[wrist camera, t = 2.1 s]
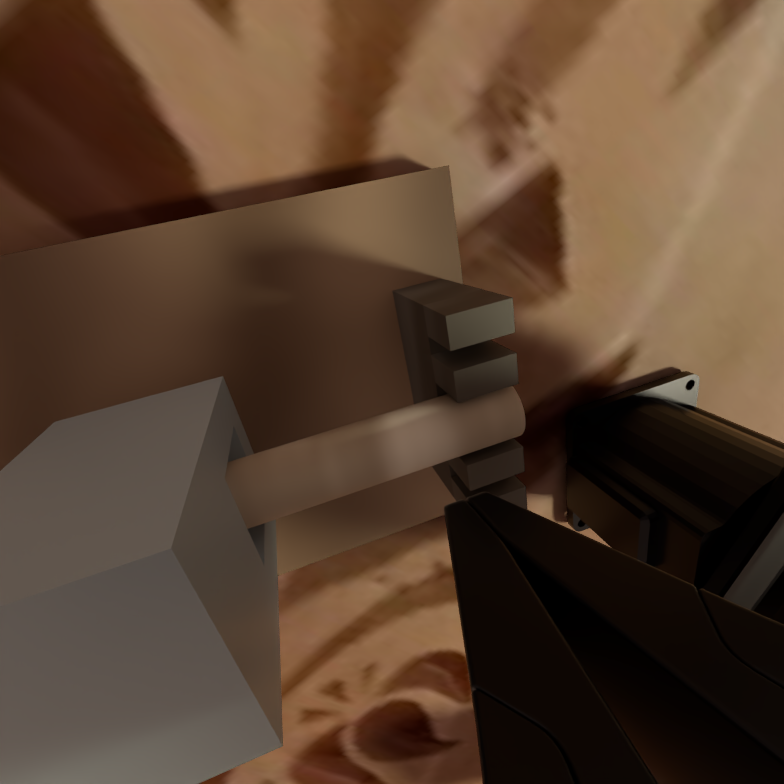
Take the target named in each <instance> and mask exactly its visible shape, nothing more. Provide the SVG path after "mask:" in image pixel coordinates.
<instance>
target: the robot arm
mask: <svg viewBox="0 0 784 784" xmlns="http://www.w3.org/2000/svg"><path fill="white" fill-rule="evenodd" d="M698 389H699V377H698V375H696V374H693V373H690V372H687V371H686V372H681V373H678V374H675V375H672V376H669V377H666V378H663V379H660V380H657V381H654V382H651V383H648V384H645V385H642V386H640V387H637V388H634V389H631V390H628V391H625V392H622V393H619V394H616V395H613V396H610V397H607V398H604V399H601V400H598V401H595V402H592V403H589V404H586V405H583V406H580V407H577V408H575V409H573V410H572V411H571V412H570V413H569V414H568V416H567V419H566V452H567V463H566V480H567V512H568V524H569V525H570V526H571V527H572V528H573V529H575V530H576V531H583V530H585V529H588V528H591V529H592V530H593V531H594V532H595V533H596V534H597V535H598V536H600V537H601V538H602V539H603V540H604V541H605V542H606V543H607V544H608V545H609V546H610V547H608V546H606V545H604V544H602V543H600V542H597V541H595V540H593V539H591V538H589V537H586V536H584V535H582V534H580V533H577V532H575V531H573V530H571V529H569V528H566V527H564V526H562V525H560V524H558V523H555V522H553V521H551V520H549V519H546V518H544V517H542V516H540V515H538V514H535V513H533V512H531V511H529V510H527V509H524V508H522V507H520V506H518V505H516V504H513V503H511V502H509V501H507V500H504V499H502V498H500V497H498V496H496V495H493V494H491V493H489V492H481V493H478V494H475V495H472V496H470V497H467V498H466V500H458V501H456V502H453V503H450V504H447V505H445V506H444V514H445V521H446V527H447V534H448V540H449V547H450V554H451V560H452V567H453V574H454V580H455V587H456V594H457V600H458V607H459V613H460V620H461V627H462V633H463V640H464V647H465V653H466V660H467V666H468V673H469V680H470V686H471V692H472V702H473V708H474V715H475V722H476V729H477V737H478V746H479V754H480V762H481V771H482V779H483V784H784V443H782V442H780V441H777V440H775V439H772V438H770V437H768V436H765V435H763V434H760V433H758V432H755V431H753V430H750V429H748V428H746V427H743V426H741V425H738V424H736V423H733V422H731V421H729V420H726V419H724V418H721V417H719V416H716V415H714V414H712V413H709V412H707V411H704V410H702V409H699V408H697V407H696V404H697V396H698ZM580 418H581V420H580V421H579V419H580ZM578 421H579V422H578ZM611 547H612V548H611Z"/></svg>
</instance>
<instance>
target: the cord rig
mask: <svg viewBox="0 0 784 784" xmlns="http://www.w3.org/2000/svg"><path fill="white" fill-rule="evenodd" d="M512 333H515V324H514V310H513V298H512V297H508V296H504V295H501V294H497V293H493V292H490V291H486V290H482V289H479V288H475V287H471V286H468V285H464V284H463V280H462V272H461V263H460V255H459V246H458V238H457V230H456V221H455V213H454V204H453V196H452V187H451V179H450V171H449V165H448V166H443V167H439V168H434V169H429V170H424V171H419V172H414V173H409V174H404V175H399V176H394V177H389V178H384V179H379V180H374V181H369V182H364V183H359V184H354V185H349V186H344V187H339V188H334V189H329V190H324V191H319V192H314V193H309V194H304V195H300V196H295V197H290V198H285V199H280V200H275V201H270V202H265V203H260V204H255V205H250V206H245V207H240V208H235V209H230V210H225V211H220V212H215V213H210V214H205V215H200V216H195V217H190V218H185V219H180V220H175V221H170V222H165V223H160V224H156V225H151V226H146V227H141V228H136V229H131V230H126V231H121V232H116V233H111V234H106V235H101V236H96V237H91V238H86V239H81V240H76V241H71V242H66V243H61V244H56V245H51V246H46V247H41V248H36V249H31V250H26V251H21V252H17V253H12V254H7V255H2V256H0V471H1V470H2V469H3V468H4V467H5V466H6V465H7V464H9V463H10V462H11V461H12V460H13V459H14V458H15V457H16V456H17V455H19V454H20V453H21V452H22V451H23V450H24V449H25V448H26V447H27V446H29V445H30V444H31V443H32V442H33V441H34V440H35V439H36V438H37V437H38V436H40V435H41V434H42V433H43V432H44V431H45V430H46V429H47V428H48V427H50V426H51V425H52V424H53V423H54V422H56V421H60V420H63V419H67V418H71V417H74V416H78V415H82V414H85V413H89V412H93V411H96V410H100V409H104V408H107V407H111V406H115V405H118V404H122V403H126V402H129V401H133V400H137V399H140V398H144V397H148V396H151V395H155V394H159V393H162V392H166V391H170V390H173V389H177V388H181V387H184V386H188V385H192V384H195V383H199V382H203V381H206V380H210V379H214V378H217V377H221V376H223V377H224V380H225V382H226V385H227V387H228V390H229V392H230V395H231V397H232V400H233V402H234V405H235V407H236V410H237V412H238V415H239V417H240V420H241V422H242V425H243V427H244V430H245V432H246V435H247V437H248V440H249V442H250V445H251V448H252V450H253V453H254V454H252V455H249V456H246V457H243V458H239V459H236V460H233V461H230V462H227V468H226V474H225V480H226V482H227V484H228V487H229V489H230V491H231V493H232V496H233V498H234V500H235V502H236V505H237V507H238V509H239V511H240V513H241V516H242V518H243V520H244V522H245V525H246V527H247V529H249V528H252V527H255V526H258V525H261V524H263V523H266V522H269V521H272V520H275V519H276V542H277V574H278V576H279V575H282V574H284V573H287V572H290V571H293V570H295V569H298V568H301V567H304V566H306V565H309V564H312V563H314V562H317V561H320V560H323V559H325V558H328V557H331V556H334V555H336V554H339V553H342V552H344V551H347V550H350V549H353V548H355V547H358V546H361V545H363V544H366V543H369V542H372V541H374V540H377V539H380V538H383V537H385V536H388V535H391V534H393V533H396V532H399V531H402V530H404V529H407V528H410V527H412V526H415V525H418V524H421V523H423V522H426V521H429V520H432V519H434V518H437V517H440V516H442V515H445V514H444V506H445V505H447V504H450V503H453V502H456V501H458V500H466V498H467V497H470V496H472V495H475V494H478V493H481V492H489V493H491V494H493V495H496V496H498V497H500V498H502V499H504V500H507V501H509V502H511V503H513V504H516V505H518V506H520V507H522V508H524V509H527V497H526V486H525V485H524V484H523V483H522V482H521V481H520V480H519V479H518V478H517V477H516V476H515V475H516V474H519V473H522V472H525V468H524V454H523V446H522V445H521V444H519V443H518V442H517V441H516V440H515V439H514V438H515V437H518V436H520V435H522V434H523V432H524V430H525V424H526V422H525V413H524V408H523V405H522V402H521V400H520V397H519V395H518V393H517V392H516V390H515V388H514V387H513V386H514V385H517V384H519V382H518V367H517V353H516V352H514V351H511V350H509V349H507V348H505V347H503V346H501V345H499V344H497V343H495V342H493V341H491V339H494V338H498V337H501V336H505V335H508V334H512Z"/></svg>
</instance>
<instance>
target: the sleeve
mask: <svg viewBox="0 0 784 784" xmlns="http://www.w3.org/2000/svg"><path fill="white" fill-rule="evenodd" d="M252 454H254V453H253V450H252V448H251V445H250V442H249V440H248V437H247V435H246V432H245V430H244V427H243V425H242V422H241V420H240V417H239V415H238V412H237V410H236V407H235V405H234V402H233V400H232V397H231V395H230V392H229V390H228V387H227V385H226V382H225V380H224V377H223V376H221V377H217V378H214V379H210V380H206V381H203V382H199V383H195V384H192V385H188V386H184V387H181V388H177V389H173V390H170V391H166V392H162V393H159V394H155V395H151V396H148V397H144V398H140V399H137V400H133V401H129V402H126V403H122V404H118V405H115V406H111V407H107V408H104V409H100V410H96V411H93V412H89V413H85V414H82V415H78V416H74V417H71V418H67V419H63V420H60V421H56V422H54V423H53V424H52V425H51V426H50V427H48V428H47V429H46V430H45V431H44V432H43V433H42V434H41V435H40V436H38V437H37V438H36V439H35V440H34V441H33V442H32V443H31V444H30V445H29V446H27V447H26V448H25V449H24V450H23V451H22V452H21V453H20V454H19V455H17V456H16V457H15V458H14V459H13V460H12V461H11V462H10V463H9V464H7V465H6V466H5V467H4V468H3V469H2V470H1V471H0V784H198V783H201V782H203V781H205V780H207V779H210V778H212V777H214V776H216V775H219V774H221V773H223V772H226V771H228V770H230V769H232V768H235V767H237V766H239V765H241V764H244V763H246V762H248V761H250V760H253V759H255V758H257V757H259V756H262V755H264V754H266V753H268V752H271V751H273V750H275V749H277V748H280V747H282V746H283V733H282V701H281V669H280V637H279V606H278V574H277V542H276V519H275V520H272V521H269V522H266V523H263V524H261V525H258V526H255V527H252V528H249V529H247V527H246V525H245V522H244V520H243V518H242V516H241V513H240V511H239V509H238V507H237V505H236V502H235V500H234V498H233V496H232V493H231V491H230V489H229V487H228V484H227V482H226V480H225V474H226V468H227V462H230V461H233V460H236V459H239V458H243V457H246V456H249V455H252Z"/></svg>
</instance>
